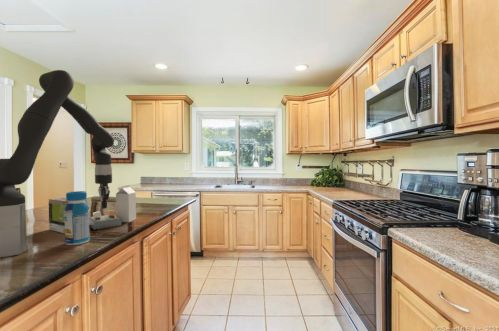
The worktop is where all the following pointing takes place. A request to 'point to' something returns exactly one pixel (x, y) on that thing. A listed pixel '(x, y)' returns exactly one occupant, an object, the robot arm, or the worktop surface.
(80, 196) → the blue plastic bottle
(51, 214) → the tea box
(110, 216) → the switch box
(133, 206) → the milk carton
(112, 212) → the paddle orange
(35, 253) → the worktop surface
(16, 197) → the robot arm
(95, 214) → the paddle white
